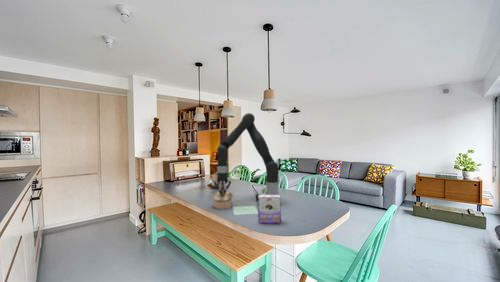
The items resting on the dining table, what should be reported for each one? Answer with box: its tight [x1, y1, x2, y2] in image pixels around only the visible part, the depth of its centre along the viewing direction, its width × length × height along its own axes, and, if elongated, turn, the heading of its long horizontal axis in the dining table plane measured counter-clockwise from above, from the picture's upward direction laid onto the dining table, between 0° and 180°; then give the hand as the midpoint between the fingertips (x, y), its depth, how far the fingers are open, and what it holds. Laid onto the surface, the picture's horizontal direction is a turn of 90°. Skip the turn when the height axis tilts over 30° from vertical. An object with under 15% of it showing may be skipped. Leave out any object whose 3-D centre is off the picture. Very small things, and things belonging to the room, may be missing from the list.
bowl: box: [213, 198, 232, 210], centre depth 163 cm, size 13×13×6 cm
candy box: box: [257, 194, 282, 225], centre depth 133 cm, size 14×6×16 cm, turn 84°
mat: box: [232, 205, 258, 216], centre depth 154 cm, size 17×17×1 cm
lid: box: [212, 187, 233, 201], centre depth 163 cm, size 15×15×6 cm
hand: (222, 194), depth 163 cm, fingers closed on lid, 2 cm apart
